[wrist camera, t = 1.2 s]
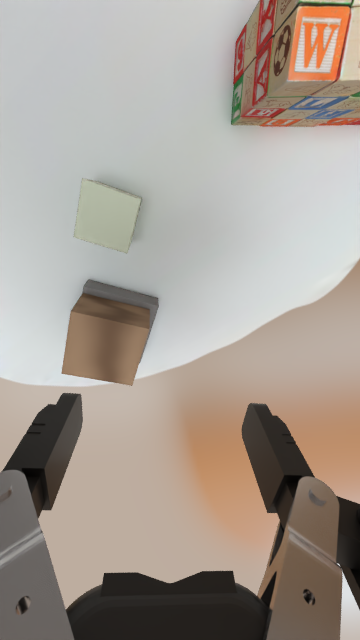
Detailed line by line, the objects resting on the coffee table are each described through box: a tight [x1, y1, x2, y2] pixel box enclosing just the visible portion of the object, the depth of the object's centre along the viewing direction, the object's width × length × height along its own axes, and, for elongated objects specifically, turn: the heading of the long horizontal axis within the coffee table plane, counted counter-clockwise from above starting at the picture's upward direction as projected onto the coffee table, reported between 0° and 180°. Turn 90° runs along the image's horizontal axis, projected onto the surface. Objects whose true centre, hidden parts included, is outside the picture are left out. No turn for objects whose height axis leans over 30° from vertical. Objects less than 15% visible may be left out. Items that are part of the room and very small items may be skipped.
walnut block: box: [62, 293, 150, 386], centre depth 29 cm, size 8×8×5 cm
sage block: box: [74, 178, 142, 253], centre depth 25 cm, size 5×5×6 cm
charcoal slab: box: [82, 280, 159, 363], centre depth 33 cm, size 9×9×3 cm
